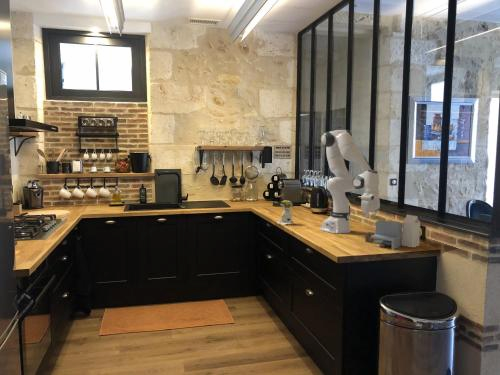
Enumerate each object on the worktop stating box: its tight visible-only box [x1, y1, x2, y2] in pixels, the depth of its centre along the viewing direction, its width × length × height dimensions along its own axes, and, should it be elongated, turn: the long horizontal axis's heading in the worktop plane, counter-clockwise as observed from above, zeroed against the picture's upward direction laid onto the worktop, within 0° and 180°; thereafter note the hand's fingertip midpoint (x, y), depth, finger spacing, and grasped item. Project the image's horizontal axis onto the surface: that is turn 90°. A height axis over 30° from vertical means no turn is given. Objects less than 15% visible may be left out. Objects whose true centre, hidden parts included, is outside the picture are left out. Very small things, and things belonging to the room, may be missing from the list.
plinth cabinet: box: [371, 219, 403, 250], centre depth 245 cm, size 14×13×14 cm
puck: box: [379, 243, 388, 248], centre depth 245 cm, size 4×4×2 cm
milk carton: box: [401, 214, 421, 249], centre depth 244 cm, size 7×7×19 cm
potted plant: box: [277, 199, 294, 226], centre depth 314 cm, size 12×13×18 cm
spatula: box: [365, 231, 392, 247], centre depth 252 cm, size 17×4×6 cm, turn 50°
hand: (370, 217), depth 255 cm, fingers open, 8 cm apart
